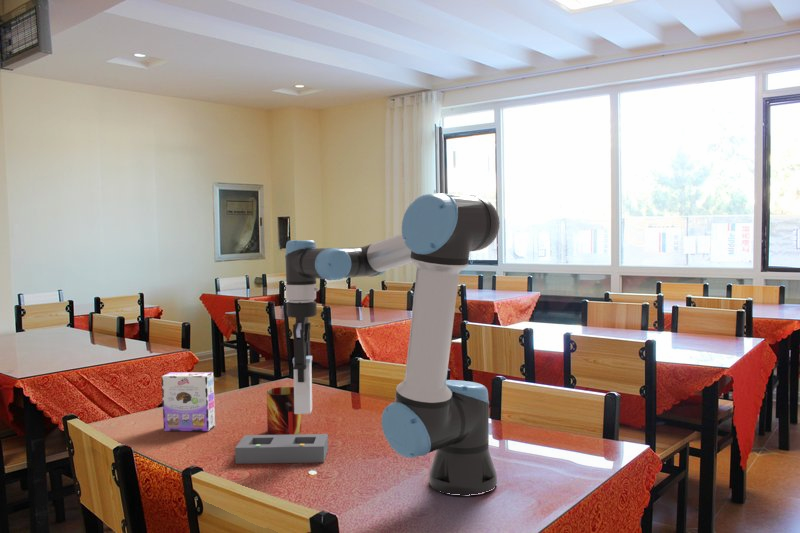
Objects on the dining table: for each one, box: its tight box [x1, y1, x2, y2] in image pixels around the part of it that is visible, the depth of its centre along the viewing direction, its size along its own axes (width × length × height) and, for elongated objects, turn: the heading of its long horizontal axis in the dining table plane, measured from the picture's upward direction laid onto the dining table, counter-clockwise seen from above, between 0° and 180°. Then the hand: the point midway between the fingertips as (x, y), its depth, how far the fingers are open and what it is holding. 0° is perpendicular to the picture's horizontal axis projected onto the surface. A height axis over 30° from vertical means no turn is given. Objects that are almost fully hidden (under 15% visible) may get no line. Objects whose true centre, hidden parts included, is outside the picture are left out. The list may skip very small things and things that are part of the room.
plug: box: [292, 355, 313, 415], centre depth 163 cm, size 4×4×14 cm
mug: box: [266, 386, 302, 435], centre depth 182 cm, size 10×14×12 cm
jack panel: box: [234, 433, 329, 464], centre depth 163 cm, size 10×22×4 cm, turn 90°
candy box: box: [161, 371, 216, 432], centre depth 188 cm, size 14×6×16 cm, turn 84°
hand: (303, 391), depth 163 cm, fingers closed on plug, 4 cm apart
